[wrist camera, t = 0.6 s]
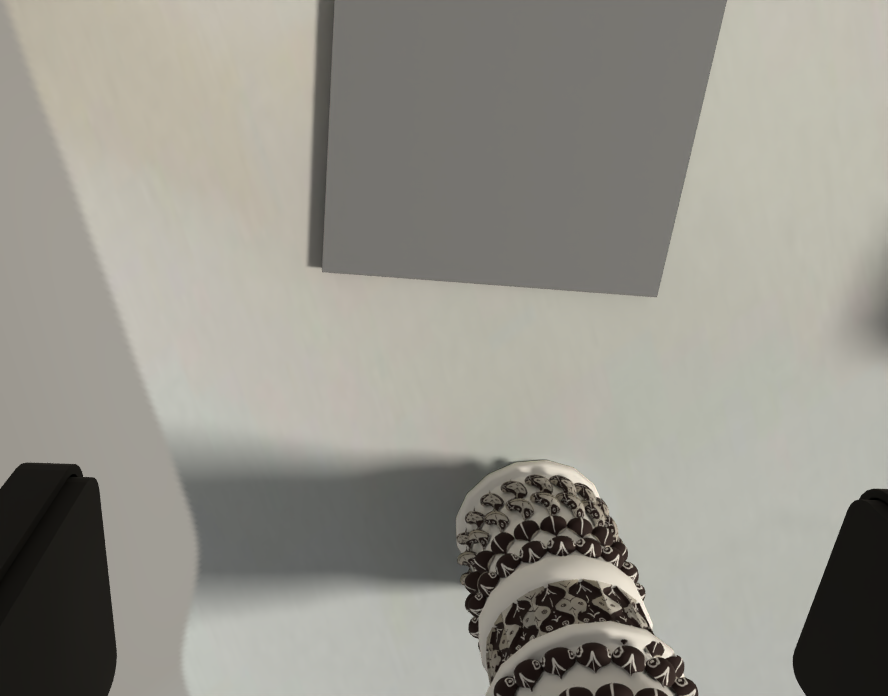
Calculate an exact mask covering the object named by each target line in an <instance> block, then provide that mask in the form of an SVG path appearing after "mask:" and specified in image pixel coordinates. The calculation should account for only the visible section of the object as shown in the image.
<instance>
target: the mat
mask: <svg viewBox="0 0 888 696" xmlns="http://www.w3.org/2000/svg"><path fill="white" fill-rule="evenodd" d="M726 2H727V0H335V1H334V22H333V44H332V66H331V87H330V109H329V131H328V152H327V174H326V196H325V217H324V239H323V261H322V272H328V273H342V274H355V275H368V276H381V277H395V278H408V279H421V280H434V281H448V282H461V283H474V284H487V285H501V286H514V287H527V288H540V289H554V290H567V291H580V292H593V293H606V294H620V295H633V296H646V297H657V295H658V291H659V286H660V282H661V278H662V274H663V269H664V265H665V261H666V257H667V252H668V248H669V244H670V240H671V235H672V231H673V227H674V223H675V219H676V214H677V210H678V206H679V202H680V197H681V193H682V189H683V185H684V180H685V176H686V172H687V168H688V163H689V159H690V155H691V151H692V146H693V142H694V138H695V134H696V129H697V125H698V121H699V117H700V112H701V108H702V104H703V100H704V95H705V91H706V87H707V83H708V79H709V74H710V70H711V66H712V62H713V57H714V53H715V49H716V45H717V40H718V36H719V32H720V28H721V23H722V19H723V15H724V11H725V6H726Z"/></svg>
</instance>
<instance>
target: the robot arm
mask: <svg viewBox="0 0 888 696" xmlns="http://www.w3.org/2000/svg"><path fill="white" fill-rule="evenodd" d="M105 549H106V548H105V539H104V530H103V520H102V511H101V502H100V492H99V486H98V482H97V480H96V479H95V478H92V477H83V474H82V471H81V469H80V467H79V466H77V465H76V464H53V463H52V464H51V463H23V464H21V465H20V466H18V467H17V468H16V469H15V471H14V472H13V473H12V474H11V476H10V477H9V478H8V480H7V481H6V482H5V483H4V485H3V486H2V487H1V489H0V696H108V693H109V691H110V688H111V685H112V682H113V678H114V674H115V669H116V659H117V653H116V651H117V650H116V641H115V632H114V622H113V613H112V604H111V594H110V585H109V576H108V566H107V557H106V550H105ZM793 669H794V673H795V677H796V679H797V681H798V683H799V685H800V687H801V688H802V690H803V692H804V693H805V695H806V696H888V489H871V490H867V491H866V492H865V493H864V494H862V495H861V497H860V499H859V500H856V501H854V502H853V503H852V504H851V505H850V507H849V508H848V510H847V513H846V516H845V518H844V521H843V524H842V526H841V529H840V532H839V534H838V537H837V540H836V542H835V545H834V548H833V550H832V553H831V555H830V558H829V561H828V563H827V566H826V569H825V571H824V574H823V577H822V579H821V582H820V585H819V587H818V590H817V593H816V595H815V598H814V601H813V603H812V606H811V608H810V611H809V614H808V616H807V619H806V622H805V624H804V627H803V630H802V632H801V635H800V638H799V640H798V643H797V646H796V648H795V651H794V655H793Z"/></svg>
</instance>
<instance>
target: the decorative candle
mask: <svg viewBox="0 0 888 696" xmlns="http://www.w3.org/2000/svg"><path fill="white" fill-rule="evenodd" d="M456 541H457V546H458V548H459V550H460V552H461V554H460V555H459V556H458V558H457V562H458V564H460V565H467V566H468V567H469V571H468V572H466V573H464V574H463V575H462V576H461V578H460V582H461V584H462V585H465V587H466V589H467V590H468V591H469V592H470V593H471V594H470V595H469V596H468V597H467V599H466V601H465V608H466V610H467V611H468V612H470V613H471V614H472V615H473V616H474V617H473V618H472V619H471V620H470V623H469V633H470V634H471V635H472V636H473V637H475V638H478V639H479V642H478V647H479V650H480V652H481V658H482V664H483V666H484V668H485V670H486V671H487V673H488V676H489V682H490V687H489V688H488V690H487V692H486V696H698V690H697V687H696V685H695V684H694V683H693V682H692V681H691V680H689V679H687V678H685V676H684V674H683V672H684V662H683V660H682V658H681V657H680V656H678V655H677V657H676V656H675V653H674V651H673V649H672V648H671V647H669V646H668V645H667V644H665V643H664V642H662V641H661V640H660V639H658V638H657V637H656V636H654V634H653V631H652V626H653V623H652V621H651V619H650V616H649V614H648V612H647V610H646V607H645V605H644V603H643V600H644V598H645V589H644V587H643V586H642V585H640V584H639V583H637V581H638V577H639V574H638V570H637V568H636V567H635V566H634V565H633V564H632V563H629V562H626V559H627V557H628V551H627V548H626V546H625V545H624V544H623V542H622V540H621V539H620V538H619V537H618V528H617V525H616V523H615V521H614V520H613V519H612V518H611V517H610V516H609V510H608V507H607V505H606V503H605V502H604V501H603V500H602V499H601V498H600V497H599V494H598V492H597V490H596V488H595V485H594V484H593V483H592V482H591V481H589V480H588V479H587V478H586V477H585V476H583V475H582V474H581V473H580V472H578V471H577V470H576V469H575V468H573V467H570V466H566V465H563V464H559V463H556V462H552V461H549V460H539V461H525V462H515V463H513V464H511V465H508V466H506V467H504V468H501V469H499V470H497V471H494V472H492V473H490V474H488V475H487V476H486V477H484V478H483V479H482V480H481V481H480V482H479V483H478V484H477V485H476V486H475V487H474V488H473V489H472V490H471V491H469V492H468V493H467V495H466V497H465V499H464V501H463V503H462V505H461V508H460V510H459V512H458V514H457V516H456ZM471 569H472V570H471Z"/></svg>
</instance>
